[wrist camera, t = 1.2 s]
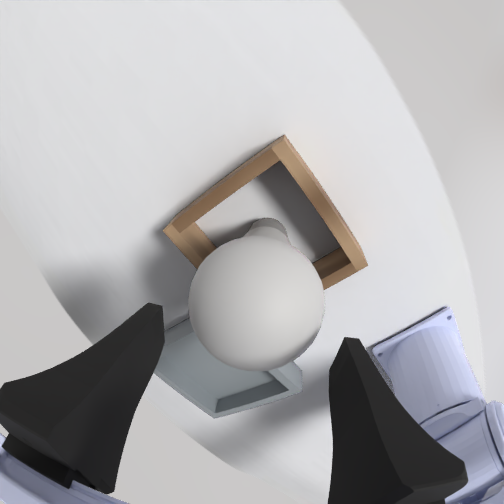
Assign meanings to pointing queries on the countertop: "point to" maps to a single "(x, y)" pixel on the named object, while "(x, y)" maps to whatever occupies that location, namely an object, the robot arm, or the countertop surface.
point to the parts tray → (219, 376)
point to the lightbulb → (257, 300)
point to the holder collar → (183, 223)
